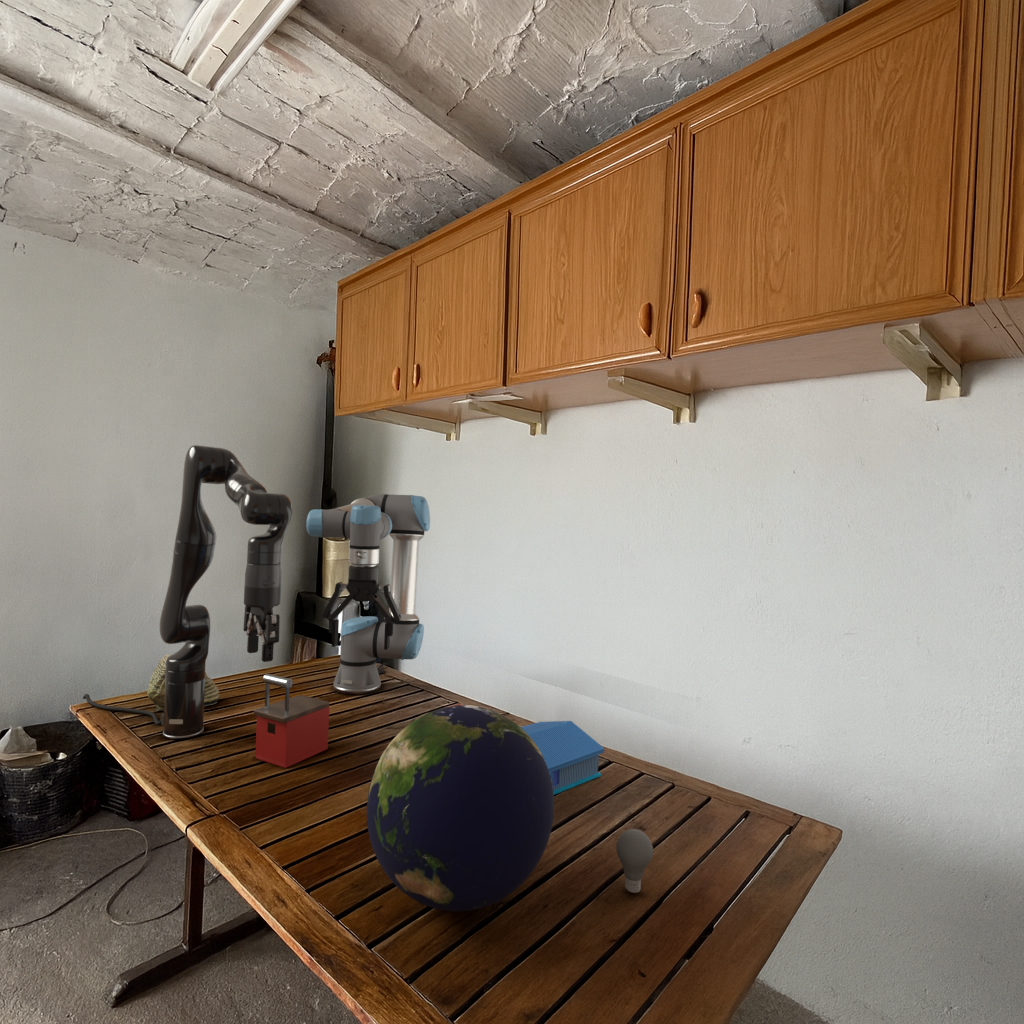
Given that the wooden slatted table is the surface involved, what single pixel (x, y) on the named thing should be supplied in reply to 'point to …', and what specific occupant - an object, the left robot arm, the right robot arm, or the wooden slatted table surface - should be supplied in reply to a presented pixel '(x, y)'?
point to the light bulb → (634, 857)
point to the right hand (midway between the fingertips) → (360, 647)
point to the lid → (287, 702)
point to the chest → (292, 738)
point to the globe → (460, 808)
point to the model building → (566, 753)
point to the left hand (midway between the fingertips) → (259, 656)
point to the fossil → (158, 687)
